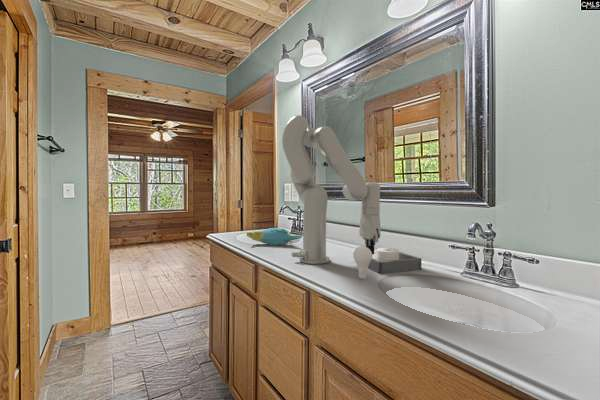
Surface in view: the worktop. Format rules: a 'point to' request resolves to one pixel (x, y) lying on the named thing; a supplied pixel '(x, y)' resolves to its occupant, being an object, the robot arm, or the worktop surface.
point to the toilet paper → (387, 254)
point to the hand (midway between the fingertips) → (369, 254)
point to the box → (396, 264)
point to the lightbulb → (362, 260)
